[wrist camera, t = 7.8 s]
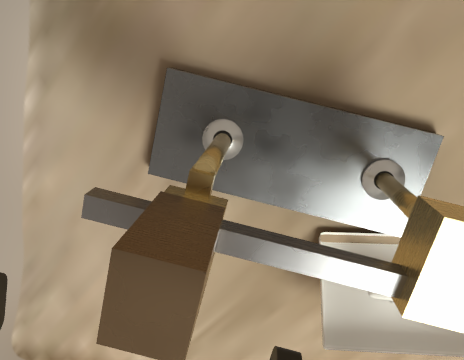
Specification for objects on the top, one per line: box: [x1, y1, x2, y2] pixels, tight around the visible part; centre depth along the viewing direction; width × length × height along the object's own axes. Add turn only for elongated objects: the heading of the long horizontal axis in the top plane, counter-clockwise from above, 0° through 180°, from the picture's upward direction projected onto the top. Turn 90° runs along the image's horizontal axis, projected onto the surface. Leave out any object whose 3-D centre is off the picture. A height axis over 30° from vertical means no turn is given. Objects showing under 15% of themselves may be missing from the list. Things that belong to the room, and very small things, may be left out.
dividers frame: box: [81, 173, 464, 333], centre depth 23 cm, size 18×5×12 cm, turn 77°
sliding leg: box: [96, 133, 231, 360], centre depth 21 cm, size 3×5×17 cm, turn 167°
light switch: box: [319, 232, 464, 357], centre depth 30 cm, size 8×5×14 cm
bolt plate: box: [148, 68, 444, 237], centre depth 29 cm, size 20×8×2 cm, turn 77°
